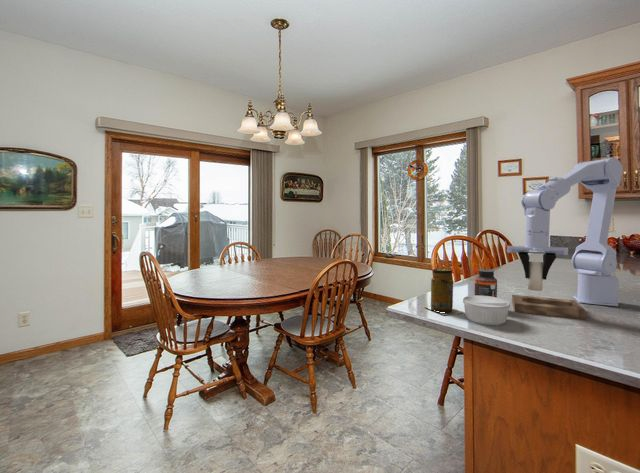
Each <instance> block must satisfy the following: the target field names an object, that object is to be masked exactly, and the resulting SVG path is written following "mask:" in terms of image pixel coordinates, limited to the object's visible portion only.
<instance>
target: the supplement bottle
mask: <svg viewBox="0 0 640 473" xmlns="http://www.w3.org/2000/svg"><path fill="white" fill-rule="evenodd" d="M475 295H479V296H491V297H497V298H498V279H497V278H496V277H495V272H494V270H492V269H486V268H485V269H484V268H483V269H482V268H481V269H478V276H475V278H474V296H475Z"/></svg>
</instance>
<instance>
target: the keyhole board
mask: <svg viewBox="0 0 640 473" xmlns="http://www.w3.org/2000/svg"><path fill="white" fill-rule="evenodd" d="M511 306H512V308H513V311H514V312H516V313H521V314H522V313H524V314H532V315H541V316H550V317H551V316H552V317H560V318H570V319H578V320H580V319H581V320H586V310H585V308H583V307H582V306H581V305H580V304H579V302H578V301H577V300H576V299H563V298H554V297H553V298H552V297H542V296H540V297H539V296H532V295H531V296H530V295H519V294H511Z"/></svg>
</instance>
